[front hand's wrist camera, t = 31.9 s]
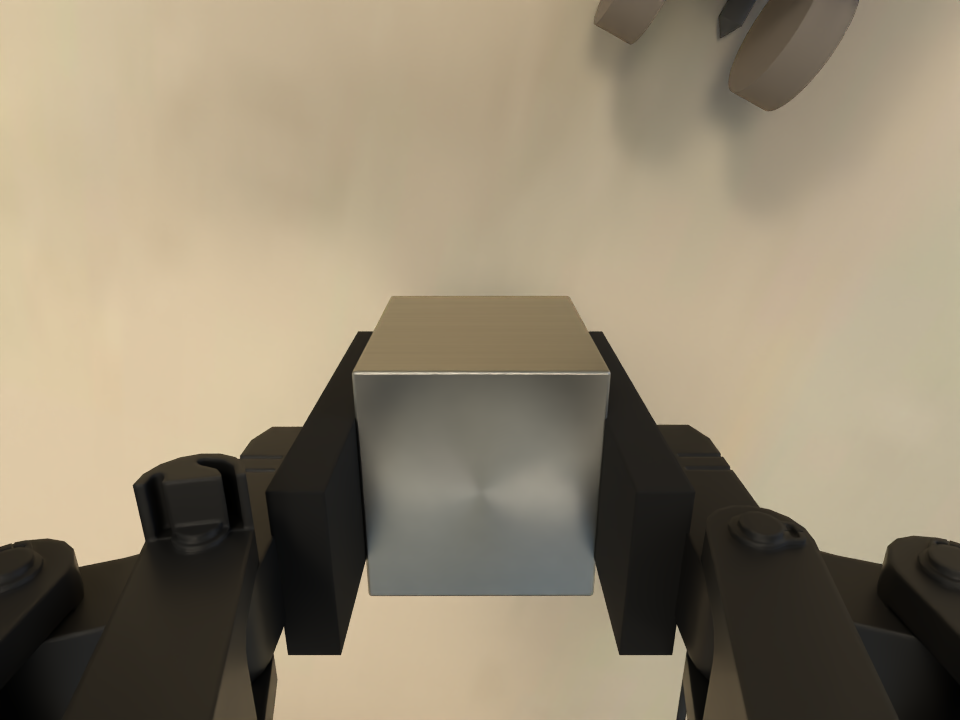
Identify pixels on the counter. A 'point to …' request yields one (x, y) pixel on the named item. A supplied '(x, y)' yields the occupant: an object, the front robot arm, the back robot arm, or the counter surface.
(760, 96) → the figurine character
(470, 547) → the metal block
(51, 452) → the counter surface
